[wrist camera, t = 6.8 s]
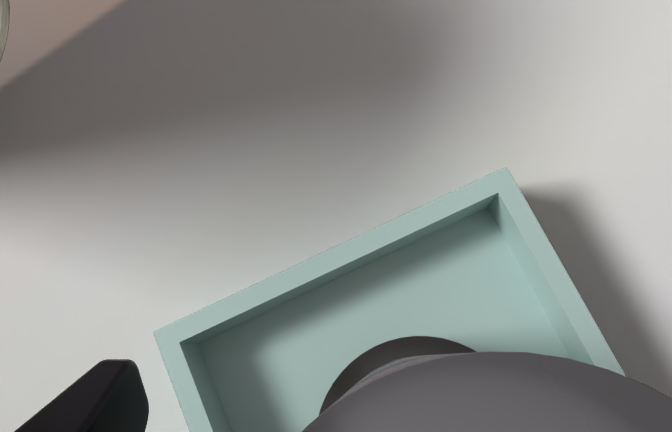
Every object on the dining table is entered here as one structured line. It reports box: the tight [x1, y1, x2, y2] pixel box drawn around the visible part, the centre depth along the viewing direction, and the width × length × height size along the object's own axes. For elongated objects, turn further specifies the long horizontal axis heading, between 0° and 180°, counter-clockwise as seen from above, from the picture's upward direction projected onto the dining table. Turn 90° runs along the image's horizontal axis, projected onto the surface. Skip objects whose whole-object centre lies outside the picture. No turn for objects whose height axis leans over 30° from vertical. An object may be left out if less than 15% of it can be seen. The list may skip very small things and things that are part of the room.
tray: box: [153, 166, 626, 432], centre depth 14 cm, size 10×10×2 cm
